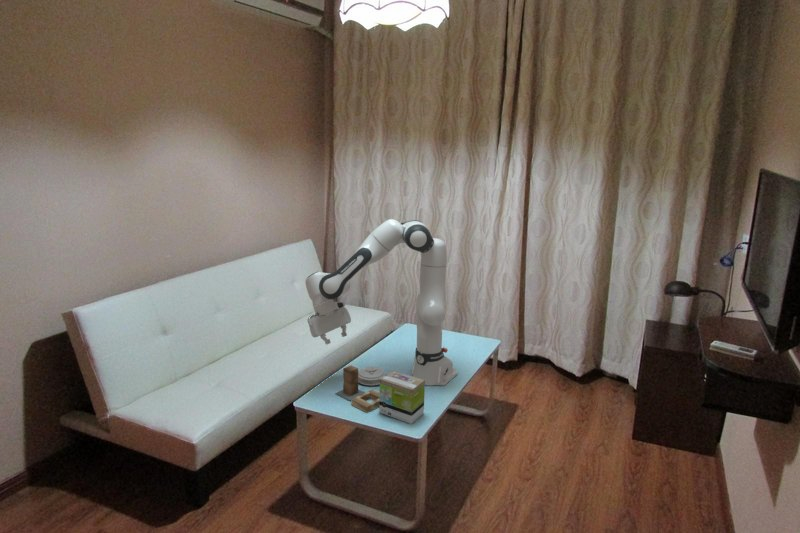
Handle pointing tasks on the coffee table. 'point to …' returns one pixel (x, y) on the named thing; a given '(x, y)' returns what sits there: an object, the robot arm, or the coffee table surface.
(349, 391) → the walnut block
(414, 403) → the tea box
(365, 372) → the grey round disc
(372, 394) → the pocket board
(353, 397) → the rubber pad
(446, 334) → the coffee table surface
